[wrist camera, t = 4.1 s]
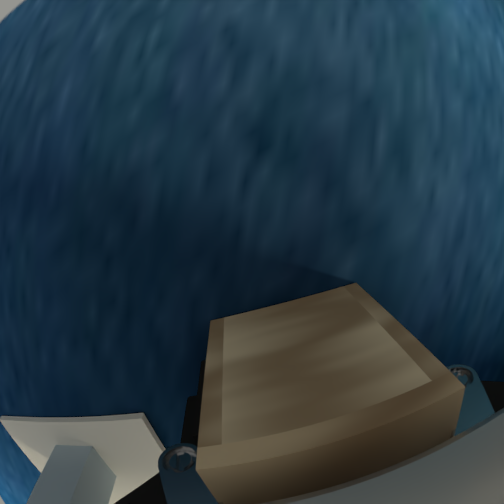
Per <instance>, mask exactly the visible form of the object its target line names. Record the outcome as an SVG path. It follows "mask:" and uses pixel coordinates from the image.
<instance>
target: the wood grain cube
mask: <svg viewBox="0 0 504 504" xmlns="http://www.w3.org/2000/svg"><path fill="white" fill-rule="evenodd" d="M464 391H465V386H464V385H463V384H462V383H461V382H460V381H459V380H458V379H457V378H456V377H455V376H454V375H453V374H452V373H451V372H450V371H449V370H448V369H447V368H446V367H445V366H444V365H443V364H442V363H441V362H440V361H439V360H438V359H437V358H436V357H435V356H434V355H433V354H432V353H431V352H430V351H429V350H428V349H427V348H426V347H425V346H424V345H423V344H421V343H420V342H419V341H418V340H417V339H416V338H415V337H414V336H413V335H412V334H411V333H410V332H409V331H408V330H407V329H406V328H405V327H404V326H403V325H401V324H400V323H399V322H398V321H397V320H396V319H395V318H394V317H393V316H392V315H391V314H390V313H389V312H388V311H386V310H385V309H384V308H383V307H382V306H381V305H380V304H379V303H378V302H377V301H376V300H375V299H373V298H372V297H371V296H370V295H369V294H368V293H367V292H366V291H365V290H364V289H362V288H361V287H360V286H359V285H358V284H357V283H353V284H350V285H346V286H343V287H339V288H336V289H332V290H329V291H325V292H322V293H318V294H314V295H311V296H307V297H303V298H300V299H296V300H292V301H288V302H285V303H281V304H277V305H273V306H269V307H265V308H261V309H257V310H253V311H249V312H245V313H241V314H237V315H233V316H228V317H224V318H220V319H216V320H211V321H210V330H209V338H208V347H207V356H206V365H205V374H204V384H203V394H202V404H201V414H200V424H199V435H198V447H197V459H196V471H197V473H198V474H199V476H200V477H201V479H202V480H203V482H204V483H205V485H206V486H207V488H208V489H209V491H210V492H211V493H212V495H213V496H214V498H215V499H216V500H217V502H223V503H224V504H259V503H265V502H270V501H276V500H281V499H285V498H290V497H294V496H299V495H303V494H307V493H311V492H315V491H318V490H322V489H326V488H329V487H333V486H336V485H339V484H343V483H346V482H349V481H352V480H355V479H358V478H361V477H364V476H367V475H369V474H372V473H375V472H377V471H380V470H383V469H385V468H388V467H390V466H393V465H395V464H398V463H400V462H402V461H405V460H407V459H409V458H412V457H414V456H416V455H418V454H420V453H423V452H425V451H427V450H429V449H431V448H433V447H435V446H437V445H439V444H441V443H443V442H445V441H447V440H449V439H450V437H451V433H452V430H454V429H456V426H457V422H458V418H459V414H460V410H461V405H462V401H463V396H464Z"/></svg>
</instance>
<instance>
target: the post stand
mask: <svg viewBox="0 0 504 504" xmlns="http://www.w3.org/2000/svg"><path fill="white" fill-rule="evenodd" d="M0 421H1V423H2V424H3V426H4V427H5V429H6V430H7V431H8V433H9V434H10V435H11V437H12V438H13V439H14V441H15V442H16V443H17V445H18V446H19V447H20V448H21V450H22V451H23V452H24V453H25V455H26V456H27V457H28V458H29V459H30V461H31V462H32V463H33V464H34V465H35V467H36V468H37V469H38V470H39V471H40V472H41V475H40V477H39V479H38V481H37V483H36V485H35V487H34V489H33V491H32V493H31V495H30V497H29V499H28V501H27V503H26V504H114V503H115V502H117V501H118V500H120V499H121V498H123V497H124V496H126V495H127V494H129V493H130V492H132V491H133V490H135V489H136V488H137V487H139V486H140V485H142V484H143V483H145V482H146V481H147V480H149V479H150V478H152V477H153V476H154V475H156V474H157V473H159V469H158V459H159V456H160V455H161V454H162V452H163V451H164V450H166V449H165V447H164V446H163V444H162V443H161V441H160V439H159V438H158V436H157V435H156V433H155V431H154V430H153V428H152V426H151V425H150V423H149V421H148V420H147V418H146V416H145V414H144V413H134V414H123V415H110V416H92V417H17V416H1V418H0Z"/></svg>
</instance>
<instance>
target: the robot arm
mask: <svg viewBox="0 0 504 504" xmlns="http://www.w3.org/2000/svg"><path fill="white" fill-rule="evenodd" d="M205 365H206V360H204V361H202V362H201V369H200V376H199V384H198V392H197V395H196V396H190V397H188V399H187V404H186V411H185V417H184V424H183V430H182V437H181V443H180V444H175V445H173V446H171V447H168V448H167V449H166V450H164V451H163V452H162V454H161V455H160V456H159V459H158V469H159V473H157V474H156V475H154V476H153V477H152V478H150V479H149V480H147V481H146V482H145V483H143V484H142V485H140V486H139V487H137V488H136V489H135V490H133V491H132V492H130V493H129V494H127V495H126V496H124V497H123V498H121V499H120V500H118V501H117V502H115V503H114V504H224V503H223V502H217V500H216V499H215V498H214V496H213V495H212V493H211V492H210V491H209V489H208V488H207V486H206V485H205V483H204V482H203V480H202V479H201V477H200V476H199V474H198V473H197V471H196V459H197V447H198V435H199V424H200V414H201V404H202V394H203V384H204V374H205ZM446 368H447V369H448V370H449V371H450V372H451V373H452V374H453V375H454V376H455V377H456V378H457V379H458V380H459V381H460V382H461V383H462V384H463V385H464V386H465V391H464V396H463V401H462V405H461V410H460V414H459V418H458V422H457V426H456V429H454V430H452V433H451V437H450V439H449V440H447V441H445V442H443V443H441V444H439V445H437V446H435V447H433V448H431V449H429V450H427V451H425V452H423V453H420V454H418V455H416V456H414V457H412V458H409V459H407V460H405V461H402V462H400V463H398V464H395V465H393V466H390V467H388V468H385V469H383V470H380V471H377V472H375V473H372V474H369V475H367V476H364V477H361V478H358V479H355V480H352V481H349V482H346V483H343V484H339V485H336V486H333V487H329V488H326V489H322V490H318V491H315V492H311V493H307V494H303V495H299V496H294V497H290V498H285V499H281V500H276V501H270V502H265V503H259V504H504V382H494V381H480V379H479V377H478V375H477V373H476V371H475V370H474V369H473V368H471V367H470V366H466V365H461V364H457V365H451V366H448V367H446Z"/></svg>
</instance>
